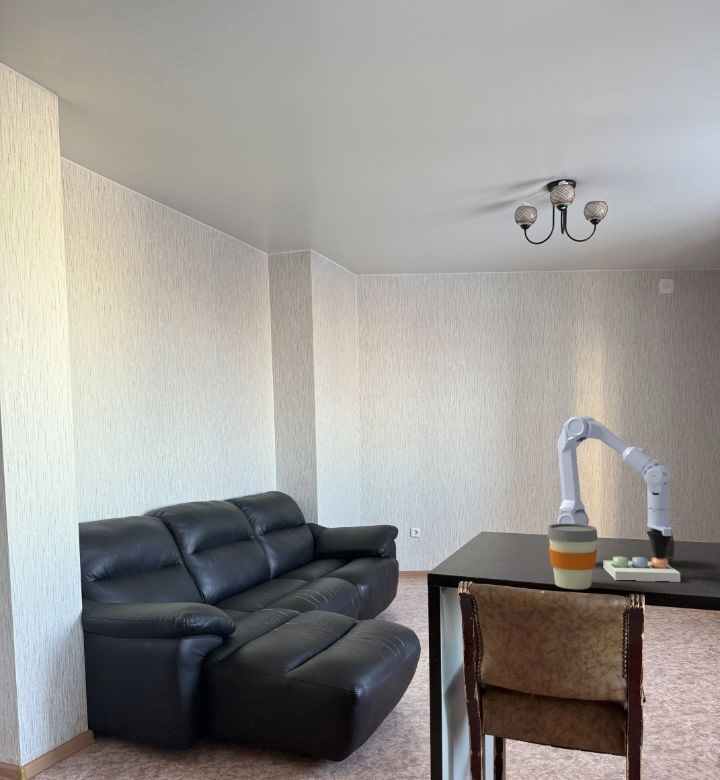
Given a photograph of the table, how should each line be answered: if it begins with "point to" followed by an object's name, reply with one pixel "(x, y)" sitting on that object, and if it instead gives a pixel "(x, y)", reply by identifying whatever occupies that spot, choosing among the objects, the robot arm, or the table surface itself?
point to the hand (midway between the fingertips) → (659, 557)
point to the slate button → (639, 562)
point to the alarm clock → (669, 550)
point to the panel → (641, 573)
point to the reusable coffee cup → (572, 554)
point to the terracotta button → (659, 563)
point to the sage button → (620, 562)
